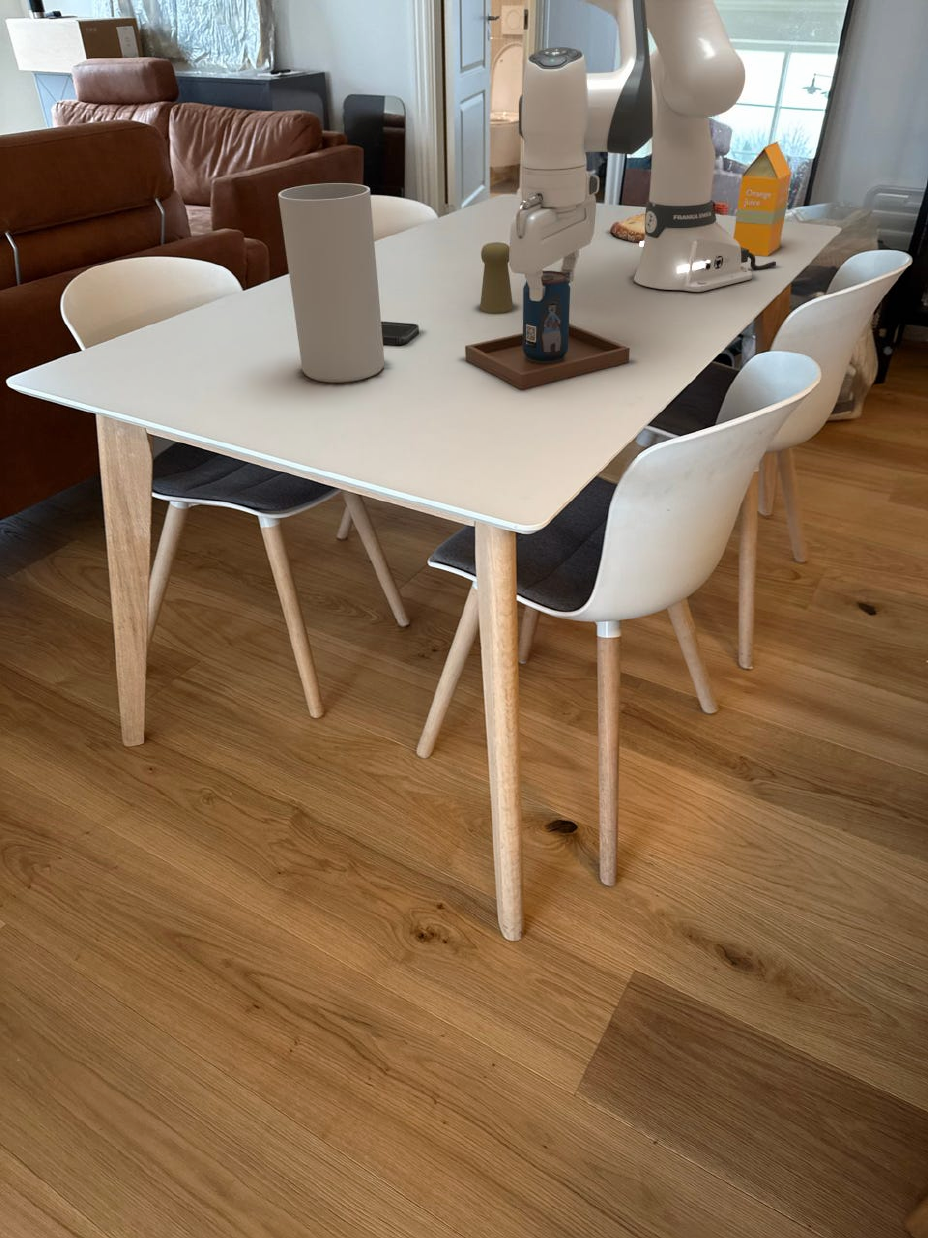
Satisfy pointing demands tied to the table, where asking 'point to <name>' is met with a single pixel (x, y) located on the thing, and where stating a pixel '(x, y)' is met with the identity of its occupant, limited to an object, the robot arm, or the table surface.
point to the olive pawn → (496, 279)
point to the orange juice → (763, 202)
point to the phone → (398, 332)
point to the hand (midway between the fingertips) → (552, 290)
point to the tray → (521, 372)
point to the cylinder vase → (333, 280)
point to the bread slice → (630, 229)
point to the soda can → (547, 320)
